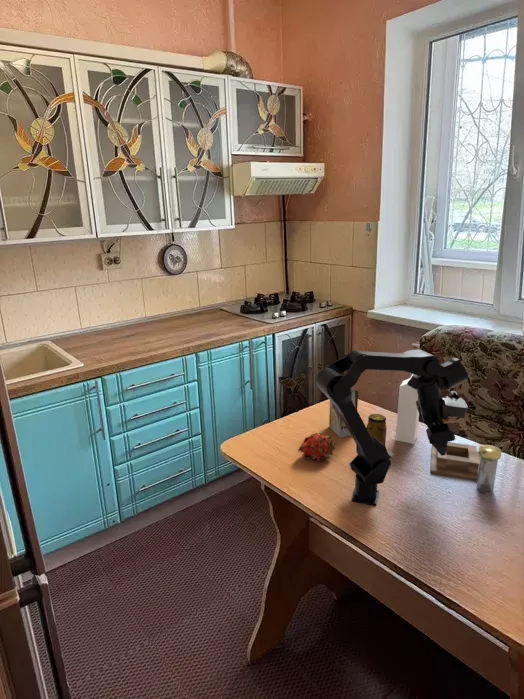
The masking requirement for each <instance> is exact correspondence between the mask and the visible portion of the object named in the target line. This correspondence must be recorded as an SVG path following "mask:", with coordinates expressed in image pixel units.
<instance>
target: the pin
mask: <svg viewBox="0 0 524 699" xmlns="http://www.w3.org/2000/svg"><path fill="white" fill-rule="evenodd" d="M478 452H479V455H480V456H481V457H480V464H479V471H478V479H477V481H476V488H477V489H476V491H478V492H479V491H480V492H479V493H481V492H483V493H482V494H485V493H491V494H492V492H493V493H494V488H495V482H496V476H497V468H498V462H499V460H500V459H501V458H502V452H503V451H502V450H501V449H500V447H498V446H495V445H492V444H491V445H490V444H481V445H480V446H479V447H478Z"/></svg>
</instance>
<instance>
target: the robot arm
mask: <svg viewBox="0 0 524 699" xmlns="http://www.w3.org/2000/svg"><path fill="white" fill-rule="evenodd" d="M366 370H370V371H371V370H372V371H373V370H374V371H392V372H393V371H396V372H397V371H398V372H406V373H410V374H411V376H412V374H413V376H412V378H411V379H410V380H409V381H408V383H407V385H409V386H410V387H412V388H414V389H417V394H418V400H417V401H416V406H417V409H418V412H419V418H421V419H422V421H423V423H424V424H425V425H426V427H427V429H425V431H426V437H427V439H428V442H429V444H430V445H431V446H432V445H433V446H434V447H435V449H436V450H437V451H438V452H439V453H440V455H441V456H443V455H446V449H447V443H448V442H453V441H455V440H456V436H455V435H456V434H455V432H454V429H453V427H452V425H450V424H449V423H445V422H444V421H445V420H449V417H453V418H460V419H465V418H466V416H467V411H468V408H469V407H468V405H467V402H466V401H465V400H464V398H462V397H460V396H459V395H458V393H457V391H454V390H453V391H452V390H451V391H450V392H449V393H448V394H447V395H446V396H445V397H443V395H442V392H441V388H443V389H444V390H449V389H451V388H454V387H456V386H457V385H458V386H459V385H460V384H463V383H464V382H467V380H468V379H469V374H468V371H467V369H466V367H465V366H464V365H463V364H462V363H461V359H459V358H456V357H452V358H451V359H449V360H448V361H446V362H443V363H440V362H439V359H438V357H437V356H436V355H433V354H431V353H429V352H427V351H425V350H422V349H420V348H417V349H410V350H406V351H404V352H399V353H397V352H396V353H395V352H380V351H363V350H359V349H355V350H351V351H349V353H347V354H346V355H345V356H344V357H342V358H340V359H337V360H334V361H333V362H331V363H330V364H329V365H328V366H326V367H324V368H323V369H321V370H320V371H319V372H318V374H317V375H316V378H315V384H316V386H317V387H318V388H319V390H320V391H321V392H322V393H323V394H324V395H325V396H326V397H327V399H328V400H329V401H330V400H331V402H332V403H333V404H334V405H335V407H336V409H337V410H338V412H339V414H340V416H341V417H342V419H343V421H344V423H345V425H346V426H347V428H348V430H349V432H350V434H351V435H352V436H351V438H352V439H353V441H354V442H355V445H356V448H355V449H356V450H355V451H356V454H357V455H356V456H355V457H354V458H353V459H352V460H351V461H350V463H349V467H350V470H351V471H352V472H353V473H355V478H354V479H355V481H354V482H355V484H354V488H353V493H352V495H351V501H352V502H355V503H361V504H366V505H372V506H377V505H378V501H379V496H380V490H378V485H381V484H383V483H384V481H385V479H386V476H387V474H388V472H389V469H390V467H391V465H392V461H391V459H392V457H393V456H390V455H389V454H388V452H387V451H388V449H387V447H386V445H385V446H384V445H383V444H382V443H381V442H380V441H379V440H377V439H376V438H375V437H374V436H373V437H371V435H370V434H369V432H368V430H367V428H366V427H367V425H366V424H365V422H364V421H363V418H362V417H361V415H360V414H359V411H358V408H357V409H356V408H355V406H354V404H353V402H352V391H351V387H354V386H355V385H356V384H357V382H358V381H359V379H360V377H361V376H362V374H363V373H364V372H365V371H366ZM346 371H347V372H346ZM345 372H346V373H345ZM342 373H345V374H343V375H342ZM414 375H416V376H414ZM443 420H444V421H443Z"/></svg>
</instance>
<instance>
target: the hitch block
mask: <svg viewBox="0 0 524 699" xmlns="http://www.w3.org/2000/svg"><path fill="white" fill-rule="evenodd" d="M430 457H431V458H430V474H433V475H441V476H446V477H453V478H459V479H465V480H470V479H473V480H472V481H476V480H477V479H478V471H479V464H480V457H481V456H480V455H479V450H478V449H477V445H473V444H472V445H471V444H465V443H458V442H453V441H449V442H448V443H447V449H446V455H443V456H441V455H440V453H439V452H438V451H437V450H436V449H435V447H434V446H433V445H432V444H431V456H430Z"/></svg>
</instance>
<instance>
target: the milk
mask: <svg viewBox="0 0 524 699" xmlns="http://www.w3.org/2000/svg"><path fill="white" fill-rule="evenodd" d="M412 376H414V374H412V373H411V376H410V377H409V378H407V379H404V380H402V383H400V385H399V390H398V392H399V393H398V402H397V404H398V405H397V416H396V427H395V441H397V442H402V443H406V444H411V445H414V444H415V442H416V440H417V438H418V429H419V419H420V414H419V412H418V409H417V406H416V401H417V400H418V394H417V389H414V388H412V387H410V386H409V385H407V383H408V381H409V380H410V379H411V378H412Z"/></svg>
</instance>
